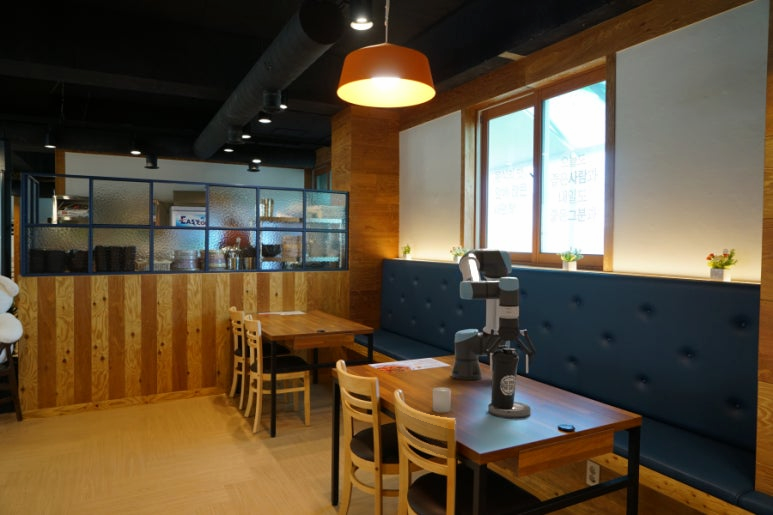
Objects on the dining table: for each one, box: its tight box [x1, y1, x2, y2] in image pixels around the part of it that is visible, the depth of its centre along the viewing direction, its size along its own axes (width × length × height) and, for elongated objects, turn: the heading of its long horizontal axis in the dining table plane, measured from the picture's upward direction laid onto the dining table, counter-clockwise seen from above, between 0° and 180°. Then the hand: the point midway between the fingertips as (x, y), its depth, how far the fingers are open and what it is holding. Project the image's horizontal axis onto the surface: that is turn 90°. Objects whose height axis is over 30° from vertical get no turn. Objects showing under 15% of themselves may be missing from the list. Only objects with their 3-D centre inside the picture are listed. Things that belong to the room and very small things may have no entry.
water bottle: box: [490, 346, 520, 409], centre depth 202 cm, size 10×10×23 cm
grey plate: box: [487, 401, 532, 420], centre depth 201 cm, size 16×16×2 cm
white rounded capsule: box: [432, 386, 452, 414], centre depth 205 cm, size 7×7×8 cm
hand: (509, 371), depth 201 cm, fingers open, 13 cm apart
